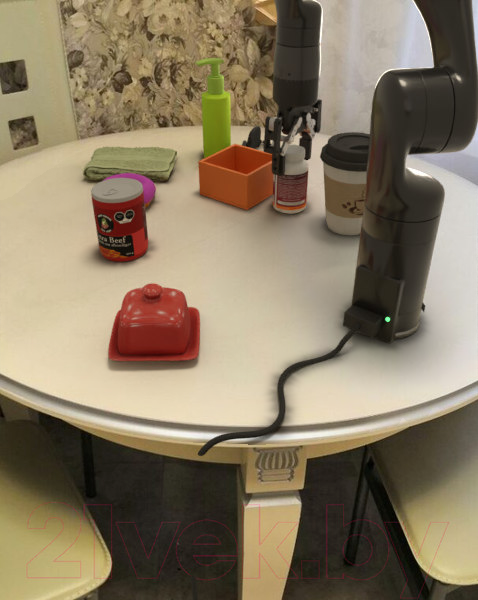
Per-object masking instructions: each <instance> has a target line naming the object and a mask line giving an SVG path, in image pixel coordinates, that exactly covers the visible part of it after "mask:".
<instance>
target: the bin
mask: <svg viewBox="0 0 478 600" xmlns="http://www.w3.org/2000/svg"><path fill="white" fill-rule="evenodd" d="M197 163H198V184H199V185H198V187H199V195H201V196H204V197H207V198H209V199H212V200H216V201H219V202H222V203H225V204H227V205H231V206H233V207H237V208H239V209H242V210H244V211H245V210H246V211H249V210H251V208H253V207H255V206H256V205H259V203H261V202H263V201H264V200H266V199H267V198H269V197H270V196H273V173H272V154H269V153H265V152H264V150H260V149H257V148H256V149H253V148H249V147H246V146H242V144H238V143H233V144H231V146H229V147H227V148H225V149H223V150H221V151H219V152H217V153H215V154H213V155H211V156H209V157H207V158H205V157H203V159H201V160H199V161H198V162H197Z"/></svg>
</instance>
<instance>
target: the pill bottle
mask: <svg viewBox="0 0 478 600" xmlns="http://www.w3.org/2000/svg"><path fill="white" fill-rule="evenodd" d="M280 148H281V146H280ZM285 155H286V156H285V174H284V175H282V176H278V175H275V174H273V194H272V208H273V209H274V210H275V211H277V212H280V213H282V214H289V215H291V214H292V215H293V214H297V213H301V212H302V211H304V210H305V209H306V207H307V203H308V202H307V199H308V185H309V184H308V183H309V170H310V169H309V168H310V167H309V163H308V160H304V158H305V148H304V147H302V146H299V144H289V145H288V148H287V150H286V153H285Z"/></svg>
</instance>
